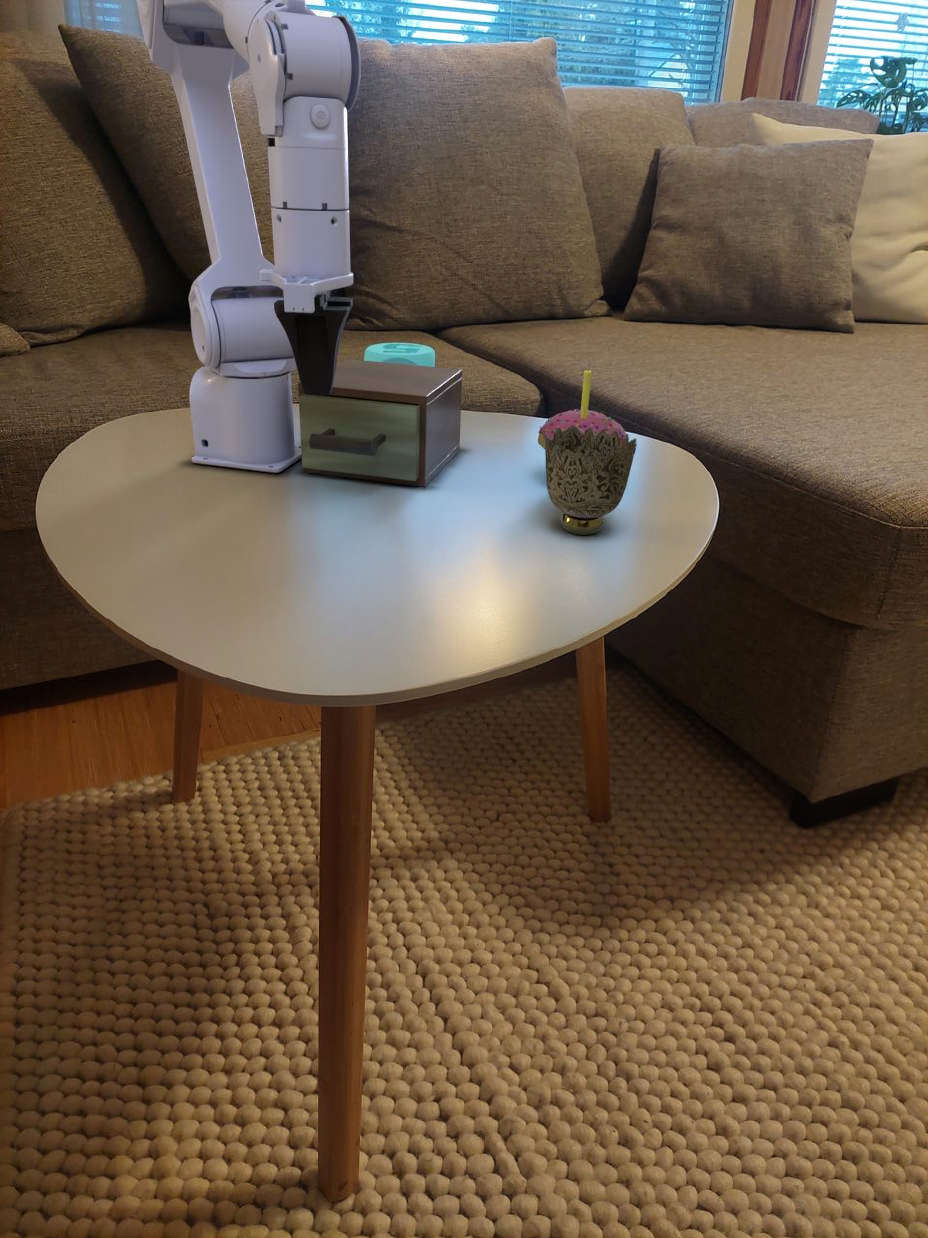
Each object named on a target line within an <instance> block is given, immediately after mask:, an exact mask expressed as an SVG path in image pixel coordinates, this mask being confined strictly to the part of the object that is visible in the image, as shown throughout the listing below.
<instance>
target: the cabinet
mask: <svg viewBox="0 0 928 1238" xmlns="http://www.w3.org/2000/svg"><path fill="white" fill-rule="evenodd" d="M462 387H463V369H461V368H450V367H441V366H440V367H438V366H435V367H429V366H418V365H407V364H397V363H386V362H375V361H364V359H351V358H347V359H345V360H343V361H340V362H339V363H337V364H336V372H335V378H334V383H333V388H332V391H331V393H330V395H333V396H342V397H352V398H362V399H372V400H382V401H392V402H401V403H411V404H419V405H418V406H420V441H419V478H418V479H417V480H416V481H410V480H402V479H394V478H386V477H377V476H369V475H361V474H353V473H344V472H336V471H328V470H320V469H311V468H303V467H302V466H301V468H302V469H301V470H302V473H307V474H308V473H309V474H314V475H315V474H317V475H324V476H331V477H332V476H333V477H341V478H346V479H347V478H349V479H357V480H366V481H374V482H381V483H389V484H397V485H406V486H414V487H422V488H425V487H427V486H428V484H430V482H431V481H432V480H433V479H434V478H435V477H436V476H437V475H438V474H439V473H440V472H441V471H442V470H443V469H444V468H445V467H446V465H448V464H449V462H451V460H452V459H453V458H454V457H455V456H456V455H457V454H458V453H459V452H460V448H461V446H460V445H461V444H460V443H461V421H462V419H461V417H462V416H461V415H462V414H461V413H462V390H463V389H462ZM297 391H298V395H297V396H298V397H299V396H301V395H303V394H304V391H303V389H302V385H301V382H300V381H299V383H297ZM298 412H299V415H300V409H299V408H298ZM299 431H300V433H299V434H301V428H300V427H299ZM301 453H302V448H301Z"/></svg>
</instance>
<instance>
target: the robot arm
mask: <svg viewBox="0 0 928 1238" xmlns="http://www.w3.org/2000/svg"><path fill="white" fill-rule="evenodd" d="M135 1H136V7H137V10H138V11H137V12H138V16H139V20H140V26H141V30H142V36H143V39H144V44H145V46H146V48H147V49H148V54H149V59H150V62H151V63H153V64H154V65H155V66H156V67H158V68H159V69H161V70H162V71H163V72H164V73H166V74H167V75H168V76H169V77H170V80H171V83H172V87H173V90H174V93H175V97H176V101H177V105H178V108H179V111H180V116H181V120H182V125H183V126H182V127H183V130H184V134H185V139H186V145H187V149H188V154H189V160H190V165H191V169H192V174H193V179H194V184H195V188H196V193H197V199H198V203H199V208H200V213H201V218H202V223H203V227H204V232H205V237H206V241H207V242H206V243H207V246H208V247H207V248H208V252H209V256H210V262H211V264H210V265H209V266H208V267H206V269H205V270H203V272H201V273H200V274H199V276H197V277H196V279H195V280H194V281H193V282H192V284H191V287H190V291H189V293H188V305H189V310H190V329H191V335H192V342H193V346H194V350H195V354H196V355H197V358H198V360H199V362H201V364H202V365H204V366H200V368H198V369H197V370H196V371H195V372H194V374H193V376H192V378H191V381H190V385H189V394H188V395H189V399H188V400H189V409H190V420H191V429H192V436H193V446H194V456H192V457H191V463H194V464H201V465H209V466H215V467H216V466H217V467H223V468H224V467H225V468H231V469H241V470H247V471H248V470H249V471H250V470H251V471H257V472H266V473H274V474H279V473H281V472H282V471H284V470H286V469H287V468H288V467H290V466H291V465H292V464H295V463H296V462H297V461H298V460H300V459H302V453H301V445H298V444H297V445H296V441H295V428H294V427H295V425H294V407H293V405H294V404H293V388H292V372H297V374H298V378H299V383H300V382H301V385H302V389H303V391H304V394H306V395H330V393H331V391H332V388H333V383H334V378H335V372H336V365H337V364H338V356H339V350H340V349H339V348H340V344H341V339H342V336H343V331H344V328H345V324H346V321H347V319H348V316H349V314H350V312H351V310H352V308H353V305H354V299H353V298H351V297H347V296H346V297H343V296H331V291H333V290H337V289H343V288H346V287H350V286H352V285H353V284H354V272H352V271H351V240H350V239H351V238H350V237H351V236H350V234H351V233H350V190H349V189H350V188H349V184H350V183H349V150H348V149H349V147H348V145H349V144H348V143H349V142H348V113H349V112H350V111H351V110H352V109H353V108H354V106H355V104H356V101H357V98H358V96H359V92H360V87H361V86H360V85H361V76H362V58H361V49H360V43H359V39H358V35H357V33H356V30H355V28H354V26H353V25H352V23H350V21H349V18H348V17H347V15H344V14H334V15H332V16H323V15H317V14H316V13H315V12H314V11H313V10H312V9H311V8H310V7H309V6H307V1H306V0H135ZM248 71H249V74H250V81H251V86H252V90H253V94H254V96H255V101H256V105H257V112H258V113H257V114H258V126H259V127H260V134H261V136H265V137H266V145H267V164H268V176H269V177H268V180H269V195H270V196H269V197H270V210H271V211H270V213H271V214H270V215H271V227H272V228H271V229H272V242H273V244H272V245H273V260H274V264H273V263H271V262H270V261H269V260H268V259H266V258H265V257H264V255H263V254H264V253H263V250H262V249H263V248H262V243H261V240H260V234H259V229H258V224H257V219H256V214H255V210H254V205H253V200H252V199H253V198H252V195H251V194H252V193H251V189H250V185H249V184H250V183H249V180H248V179H249V178H248V175H247V170H246V164H245V159H244V155H243V149H242V144H241V140H240V135H239V130H238V124H237V121H236V116H235V110H234V105H233V100H232V94H231V91H230V90H231V89H230V88H231V84H232V82H233V80H235V79H237V78H239V77H241V76H242V75H244V74H245V73H247V72H248Z"/></svg>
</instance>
